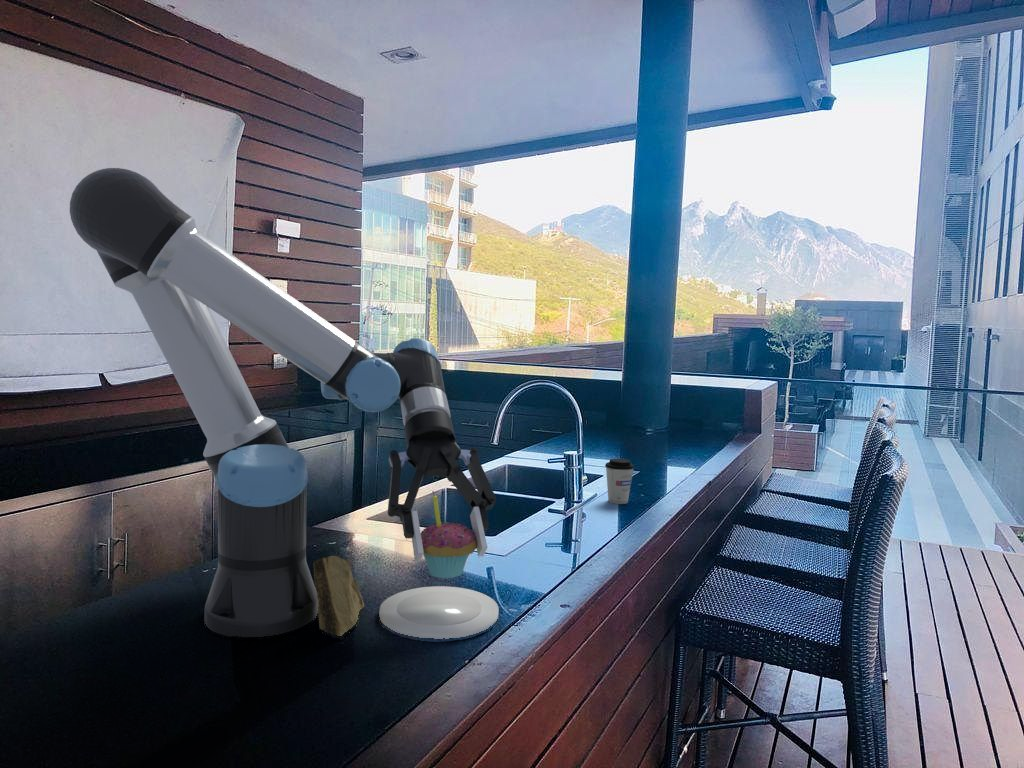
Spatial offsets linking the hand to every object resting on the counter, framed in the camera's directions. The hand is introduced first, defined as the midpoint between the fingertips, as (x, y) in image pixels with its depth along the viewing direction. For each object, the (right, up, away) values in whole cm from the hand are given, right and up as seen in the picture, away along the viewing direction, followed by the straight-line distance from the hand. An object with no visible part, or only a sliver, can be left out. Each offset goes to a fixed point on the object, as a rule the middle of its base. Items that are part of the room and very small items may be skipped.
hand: (451, 554), depth 102 cm
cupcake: (-1, -3, +3) cm, 5 cm away
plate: (-2, -10, +4) cm, 11 cm away
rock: (-15, -10, +1) cm, 18 cm away
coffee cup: (+34, -5, +74) cm, 82 cm away
